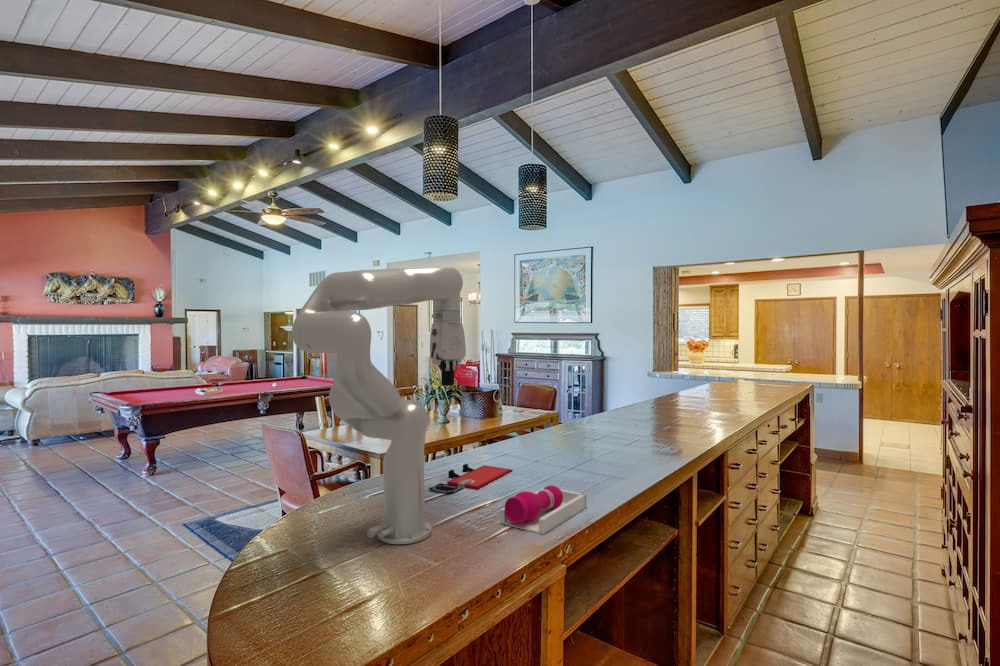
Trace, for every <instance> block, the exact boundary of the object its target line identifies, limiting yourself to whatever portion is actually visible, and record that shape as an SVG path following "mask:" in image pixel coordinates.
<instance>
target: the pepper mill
mask: <svg viewBox="0 0 1000 666" xmlns="http://www.w3.org/2000/svg"><path fill="white" fill-rule="evenodd" d="M543 488H544V489H543ZM543 488H542V489H543V490H541V489H539V490H540V491H539V492H538V493H537V494H535V493H534V492H531V491H527V490H526V491H525V490H524V491H520V492H518V493H517V494H516V495H515V496H511V497H509V498H508V499H507V500H506V501H505V504H504V507H505V513H506V516H507V518H508V519H509V521H511V522H512V523H514V524H519V523H522V522H530V521H532V520H534V519H535V518H536V517H537V516H538V515H539V513H540V511H541V510H542V509H543V510H548V509H556V508H558V507H559V506H560V505H561V504H562V501H563V494H562V492H561V490H560V489H561V488H559V487H557V486H556V485H552V484H551V485H547V486H545V487H543Z"/></svg>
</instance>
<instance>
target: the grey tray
mask: <svg viewBox="0 0 1000 666" xmlns="http://www.w3.org/2000/svg"><path fill="white" fill-rule="evenodd" d="M544 488H545V487H542V488H540V489H538V490H537V491H535V492H533V493H535V494H537V493H538V492H539V491H540V490H543V489H544ZM559 489H560V490H561V492H562V494H563V501H562V504H561V505H560V506H559V507H558V508H556V509H548V510H543V509H542V510H541V511H540V513H539V515H538V516H537V517H536V518H535V519H534V520H532V521H530V522H522V523H519V524H514V523H512V522H511V521H509V519H508V518H507V516H506V513H505V506H504V507H502V508H500V510H499V511H500V515H499V516H500V524H501V525H504V524H505V525H504V526H509V527H512V528H515V529H516V528H517V529H519V528H520V529H519V530H523V529H524V531H527V530H528V532H531V531H532V532H531V533H534V532H535V533H536V534H538V533H539V534H538V535H542V536H545V534H547V533H549V532H550V531H552V530H553V529H555V528H557V527H558V526H560V525H561V524H563V523H564V522H566V521H568V520H569V519H571V518H573V517H574V516H575V515H578V514H579V513H580V512H582V511H584V510H585V509H586V508H587V505H588V504H587V494H586V493H580V492H576V491H571V490H567V489H562V488H559ZM584 508H585V509H584ZM581 510H582V511H581ZM535 533H534V534H535Z"/></svg>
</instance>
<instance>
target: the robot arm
mask: <svg viewBox="0 0 1000 666" xmlns="http://www.w3.org/2000/svg"><path fill="white" fill-rule="evenodd" d="M463 285H464V280H463V277H462V274H461V273H460V271H459V270H457V268H455V267H437V268H436V267H435V268H434V267H433V268H430V267H429V268H413V267H412V268H408V267H407V268H405V267H404V268H400V267H399V268H383V269H382V268H381V269H362V270H351V271H349V270H348V271H339V272H332V273H330V274H328V275H327V276H325V277H324V278H323V279H322V280H320V282H319V284H318V285H317V286H316V287H315V289H314V290H313V292H312V293H311V294H310V296H309V297H308V299H307V300H306V302H305V303H304V305H303V306H302V308H301V309H300V311H299V312H298V313H297V315H296V317H295V318H294V321H293V324H292V328H291V337H292V340H293V343H294V344H295V346H296V347H297V348H298V349H300V350H301V351H302V352H305V353H312V354H336V355H335V356H336V357H335V365H334V370H333V376H332V377H333V384H332V385H331V387H330V390H329V394H328V401H329V406H330V408H331V411H332V412H333V413H334V415H335V416H336V417H338V418H339V419H340V421H343V422H344V423H345V424H346V425H348V426H349V427H351V428H352V429H353V430H354V431H356V432H357V433H359V434H361V435H362V436H364V437H367V438H371V439H382V440H387V441H388V440H389V441H390V445H389V446H388V448H387V450H386V451H385V454H384V456H383V460H382V472H383V473H382V479H383V481H382V482H383V516H382V518H381V517H380V519H379V520H380V521H379V522H380V523H378V524H377V525H376V526H373V527H371V528H368V529H367V531H366V535H367V537H368V538H370V539H372V538H374V537H377V539H378V540H379V541H381V542H383V543H385V544H389V545H407V544H414V543H418V542H420V541H421V542H422V541H424V540H425V539H427V538H428V537H429V536H430V535H431V534H432V533H433V532H432V531H433V528H432V525H431V523H430V522H428V521H426V516H425V515H426V510H425V509H426V507H425V506H426V505H425V504H426V503H425V501H426V499H425V498H426V497H425V441H426V434H427V428H428V422H429V416H428V411H427V409H426V407H425V406H424V405H423V404H421V403H420V402H418V401H415V400H411V399H401V395H400V392H399V390H398V389H397V387H396V386H395V385H394V383H392V382H391V380H390V379H388V378H387V377H386V376H385V374H383V373H382V372H381V371H380V370H379V369H378V368H377V367H376V366H375V365H374V364H373V362H372V360H371V345H372V344H371V343H372V328H371V326H370V325H371V324H370V323H369V321H368V319H367V318H366V316H364V315H363V314H361V313H359V312H357V311H366V310H367V311H368V310H369V311H370V310H375V309H381V308H386V307H387V308H388V307H394V306H402V305H412V304H417V303H422V302H427V301H432V314H431V318H432V323H431V326H430V327H431V328H430V337H429V356H430V358H431V360H432V361H431V363H432V365H434V366H437V367H438V368H439V371H440V372H441V373H440V375H441V381H440V383H441V386H446V387H450V386H454V385H455V371H456V369H457V367H456V366H457V365H458V364H460V363H462V361H463V359H465V357H466V356H467V355H466V353H467V350H466V337H465V335H466V334H465V330H464V326H463V323H461V292H462V289H463V287H464V286H463Z"/></svg>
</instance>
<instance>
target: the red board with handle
mask: <svg viewBox="0 0 1000 666" xmlns="http://www.w3.org/2000/svg"><path fill="white" fill-rule="evenodd" d="M466 471H467V472H466ZM512 471H514V469H512V468H511V469H510V468H504V467H496V466H492V465H491V466H489V465H485V464H484V465H482V466H480V467H478V468H476V469H473V468H472V467H469V463H465V464H463V465H462V473H464V474H462V475H459V474H458V473H456V472H455V469H450V470H448V478H452V479H449V480H448V481H447V482H446V483H442V482H440V483H438V484H435V485H434V486H430V487H428V488H427V490H431V491H438V492H443V493H447V494H453V493H454V492H456V491H458V490H460V489H461V490H464V489H468V490H473V489H475V490H474V491H480V490H481V489H483V488H485V487H487V486H488V484H489V483H491V482H492V483H494V482H496V481H498V480H499V478H500V479H502V478H504V477H505V476H507V475H509V474H511V473H513V472H512ZM510 472H511V473H510ZM508 473H509V474H508ZM506 474H507V475H506ZM504 475H505V476H504ZM503 476H504V477H503ZM453 477H454V478H453ZM501 477H502V478H501ZM497 479H498V480H497ZM495 480H496V481H495ZM493 481H494V482H493ZM492 483H491V484H492ZM486 485H487V486H486ZM489 485H490V484H489ZM484 486H485V487H484ZM482 487H483V488H482ZM480 488H481V489H480ZM479 489H480V490H479Z"/></svg>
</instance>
